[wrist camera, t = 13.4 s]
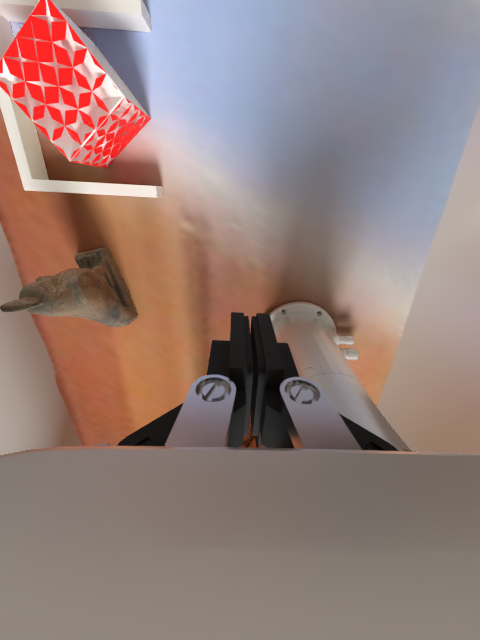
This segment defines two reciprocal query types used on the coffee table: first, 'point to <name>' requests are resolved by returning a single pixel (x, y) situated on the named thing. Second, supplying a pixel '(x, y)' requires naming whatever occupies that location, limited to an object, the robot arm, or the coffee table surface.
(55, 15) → the red white patterned box
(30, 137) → the white shallow walled frame
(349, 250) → the coffee table surface
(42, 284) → the worn brown figurine
